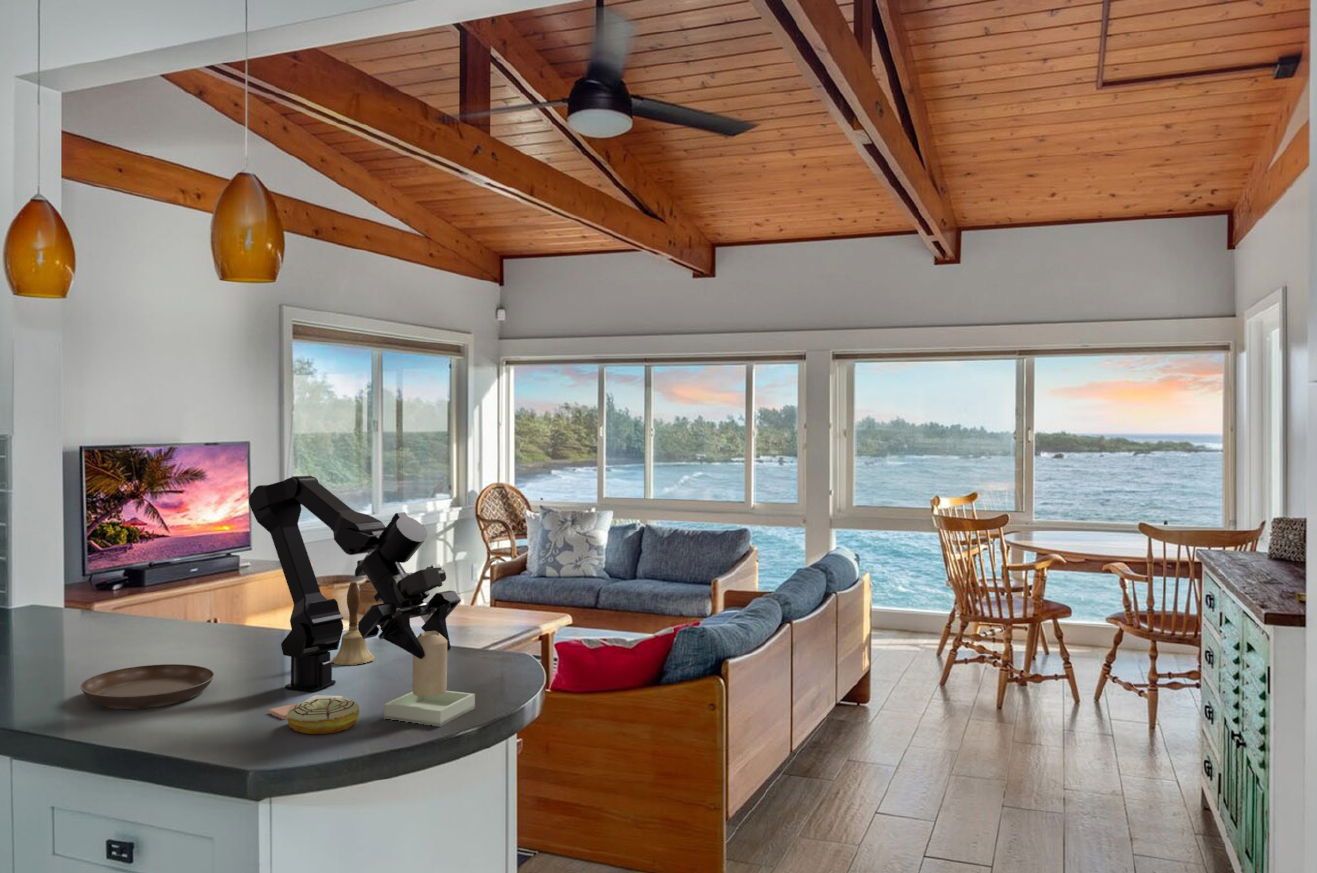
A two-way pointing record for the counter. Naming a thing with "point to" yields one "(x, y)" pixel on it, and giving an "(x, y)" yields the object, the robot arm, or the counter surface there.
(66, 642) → the counter surface
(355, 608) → the hand bell
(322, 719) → the decorated donut
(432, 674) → the candle
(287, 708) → the tile terracotta
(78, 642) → the counter surface
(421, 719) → the tray
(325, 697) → the tile white
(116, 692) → the plant saucer
